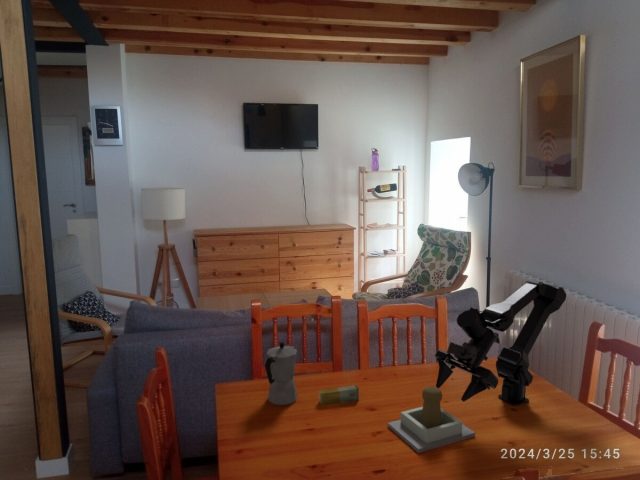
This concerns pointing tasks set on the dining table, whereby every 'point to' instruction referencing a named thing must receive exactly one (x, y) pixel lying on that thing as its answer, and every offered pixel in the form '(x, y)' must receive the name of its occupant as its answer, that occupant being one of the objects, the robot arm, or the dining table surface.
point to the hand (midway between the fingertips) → (449, 394)
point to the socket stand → (429, 430)
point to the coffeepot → (281, 374)
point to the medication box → (339, 395)
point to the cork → (431, 407)
